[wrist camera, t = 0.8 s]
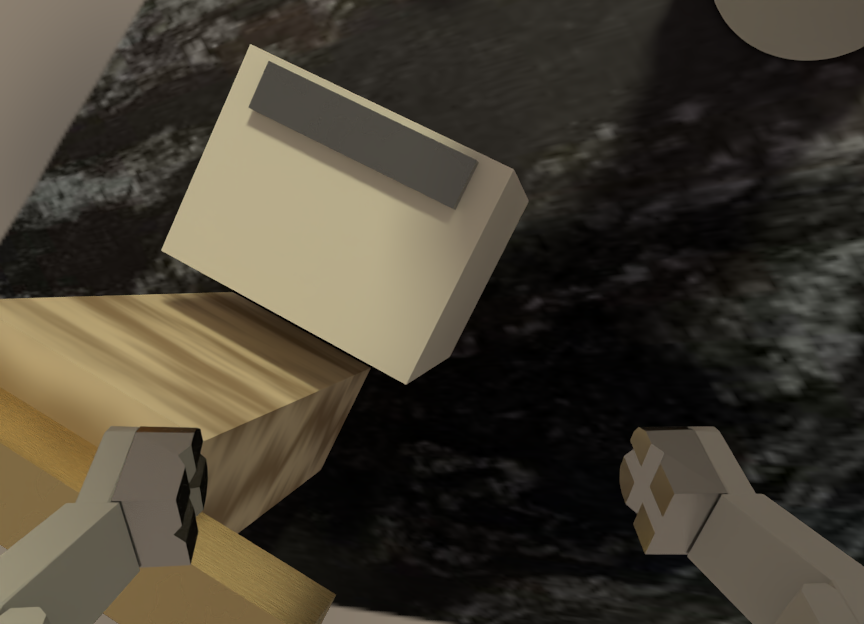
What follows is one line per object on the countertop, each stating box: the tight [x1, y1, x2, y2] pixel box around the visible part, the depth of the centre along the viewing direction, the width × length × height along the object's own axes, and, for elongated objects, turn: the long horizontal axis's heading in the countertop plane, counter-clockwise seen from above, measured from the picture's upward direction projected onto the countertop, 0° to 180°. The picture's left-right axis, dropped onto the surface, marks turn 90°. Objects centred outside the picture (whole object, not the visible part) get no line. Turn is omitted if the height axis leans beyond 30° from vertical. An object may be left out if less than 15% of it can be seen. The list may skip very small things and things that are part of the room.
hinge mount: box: [161, 44, 529, 384], centre depth 47 cm, size 14×18×16 cm
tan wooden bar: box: [0, 387, 336, 624], centre depth 29 cm, size 4×22×4 cm, turn 63°
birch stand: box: [0, 292, 371, 534], centre depth 44 cm, size 10×14×26 cm
